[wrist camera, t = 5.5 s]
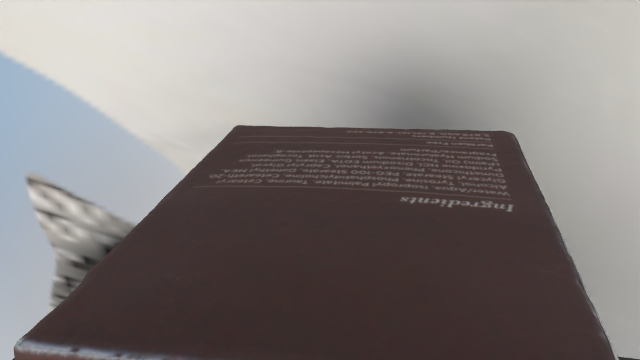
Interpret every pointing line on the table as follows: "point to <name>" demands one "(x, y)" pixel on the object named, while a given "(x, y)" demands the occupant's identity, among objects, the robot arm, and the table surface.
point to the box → (337, 258)
